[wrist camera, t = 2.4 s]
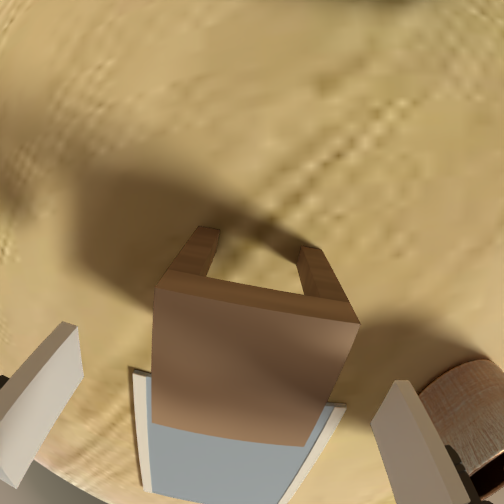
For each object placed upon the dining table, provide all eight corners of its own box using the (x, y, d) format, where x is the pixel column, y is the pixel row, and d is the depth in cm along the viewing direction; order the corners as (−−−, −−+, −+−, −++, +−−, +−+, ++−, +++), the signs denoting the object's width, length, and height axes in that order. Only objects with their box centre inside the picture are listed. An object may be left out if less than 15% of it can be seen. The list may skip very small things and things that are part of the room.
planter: (379, 445, 24) (403, 528, 15) (430, 354, 20) (488, 446, 11) (462, 434, 24) (494, 498, 15) (514, 353, 21) (568, 416, 12)
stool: (198, 225, 18) (154, 287, 10) (321, 249, 18) (360, 324, 10) (185, 330, 20) (151, 422, 12) (292, 350, 20) (304, 446, 13)
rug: (134, 369, 21) (132, 373, 21) (345, 403, 22) (346, 408, 21) (144, 487, 28) (143, 491, 27) (280, 508, 28) (280, 512, 28)
